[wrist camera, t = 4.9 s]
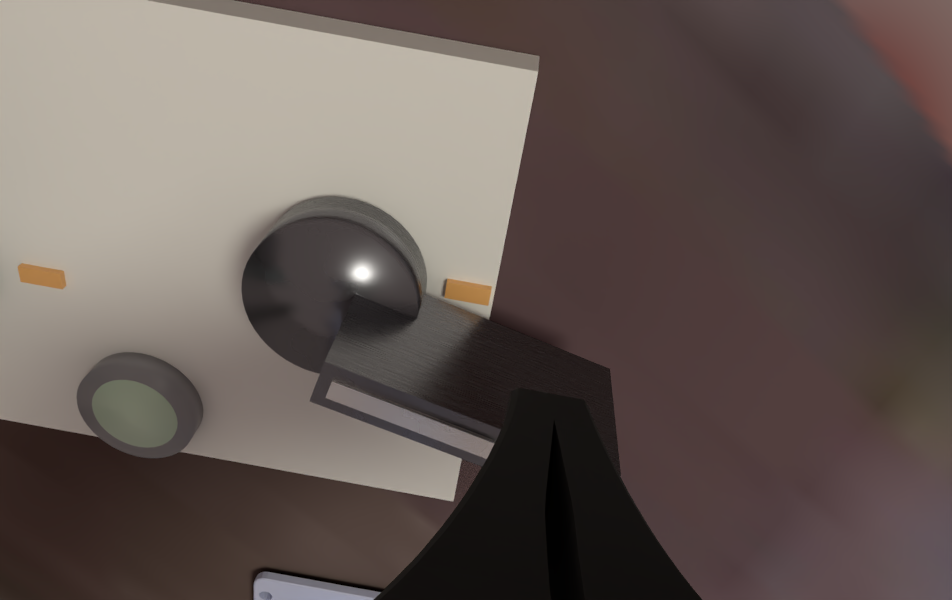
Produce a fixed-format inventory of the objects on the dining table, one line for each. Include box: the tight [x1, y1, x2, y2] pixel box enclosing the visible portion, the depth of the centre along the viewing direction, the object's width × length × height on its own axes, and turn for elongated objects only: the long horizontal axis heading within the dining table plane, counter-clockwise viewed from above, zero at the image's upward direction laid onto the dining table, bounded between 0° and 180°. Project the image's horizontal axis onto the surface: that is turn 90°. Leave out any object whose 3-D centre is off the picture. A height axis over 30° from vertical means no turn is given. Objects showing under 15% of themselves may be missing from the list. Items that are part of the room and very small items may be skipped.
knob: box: [241, 197, 621, 476], centre depth 18 cm, size 10×4×4 cm, turn 67°
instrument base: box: [0, 0, 539, 501], centre depth 21 cm, size 14×20×2 cm
